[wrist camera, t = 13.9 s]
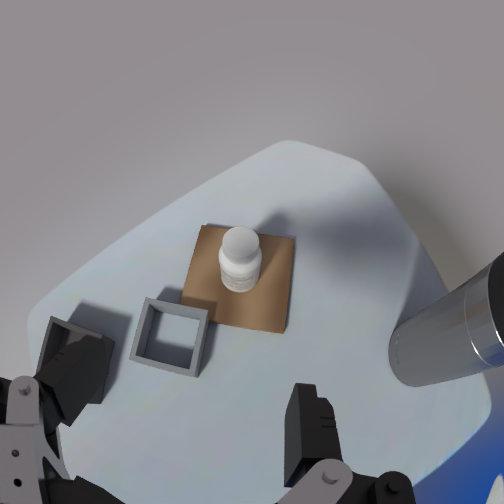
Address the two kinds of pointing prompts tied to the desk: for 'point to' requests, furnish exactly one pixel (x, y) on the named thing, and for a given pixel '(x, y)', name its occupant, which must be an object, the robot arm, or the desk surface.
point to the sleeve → (145, 326)
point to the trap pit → (66, 334)
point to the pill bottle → (240, 259)
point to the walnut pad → (240, 303)
